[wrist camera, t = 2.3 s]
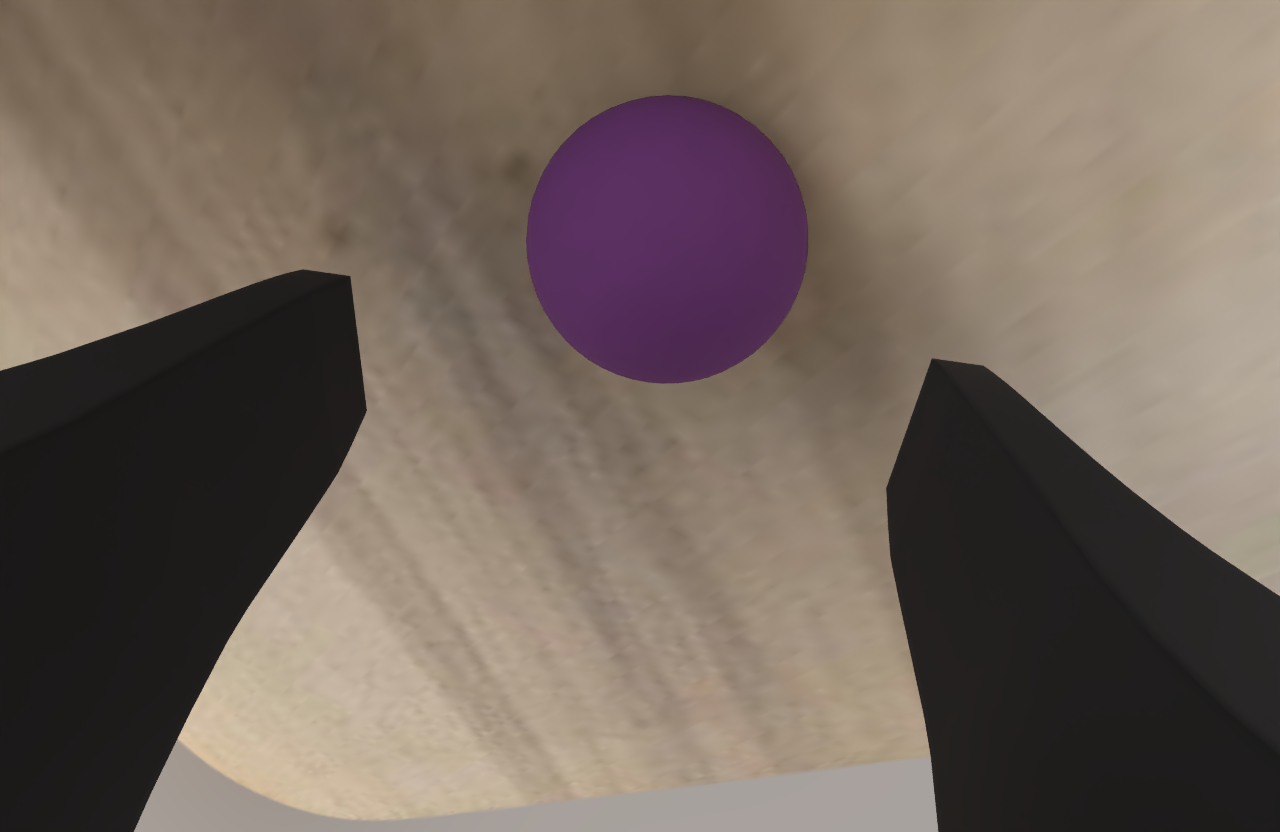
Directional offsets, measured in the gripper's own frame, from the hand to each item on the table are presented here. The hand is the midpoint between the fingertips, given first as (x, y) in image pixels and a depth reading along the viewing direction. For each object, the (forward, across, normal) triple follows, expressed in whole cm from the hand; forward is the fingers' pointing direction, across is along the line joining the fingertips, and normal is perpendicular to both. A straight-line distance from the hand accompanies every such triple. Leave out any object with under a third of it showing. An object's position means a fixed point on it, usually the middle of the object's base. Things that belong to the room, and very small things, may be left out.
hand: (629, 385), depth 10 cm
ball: (+5, 0, 0) cm, 5 cm away
